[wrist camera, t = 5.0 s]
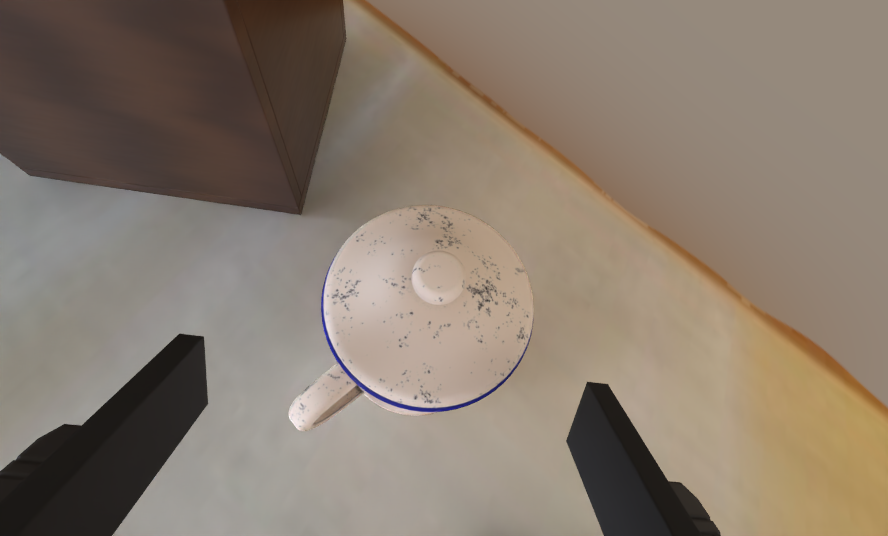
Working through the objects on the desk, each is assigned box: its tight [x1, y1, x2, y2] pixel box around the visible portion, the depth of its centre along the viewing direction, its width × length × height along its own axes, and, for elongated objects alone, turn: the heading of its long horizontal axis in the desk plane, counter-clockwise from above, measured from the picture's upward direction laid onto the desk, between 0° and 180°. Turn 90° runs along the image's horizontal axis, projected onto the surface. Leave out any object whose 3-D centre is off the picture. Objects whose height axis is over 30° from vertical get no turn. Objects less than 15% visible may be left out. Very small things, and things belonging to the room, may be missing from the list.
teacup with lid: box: [288, 205, 534, 431], centre depth 20 cm, size 12×9×12 cm
